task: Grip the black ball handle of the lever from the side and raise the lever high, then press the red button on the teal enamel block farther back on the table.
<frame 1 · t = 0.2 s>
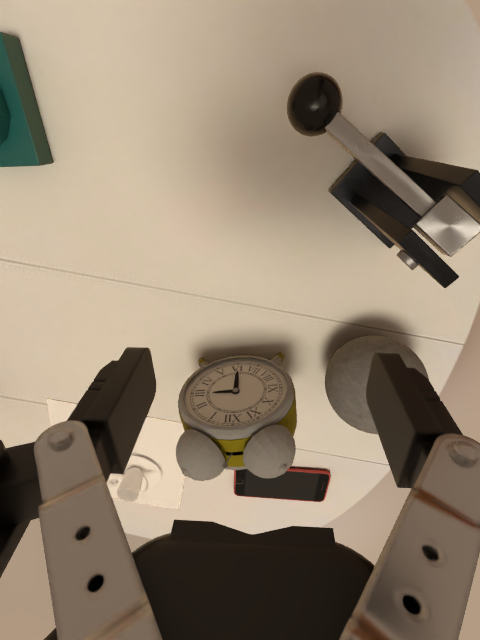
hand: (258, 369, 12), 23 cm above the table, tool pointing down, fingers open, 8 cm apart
teacup and saucer: (120, 459, 52), on the table
decorative ball: (361, 354, 40), on the table
lever: (376, 163, 21), point 10 cm above the table, hinge at -22.0°
alarm clock: (242, 368, 42), on the table
smartphone: (280, 480, 52), on the table
bracket: (383, 192, 31), on the table
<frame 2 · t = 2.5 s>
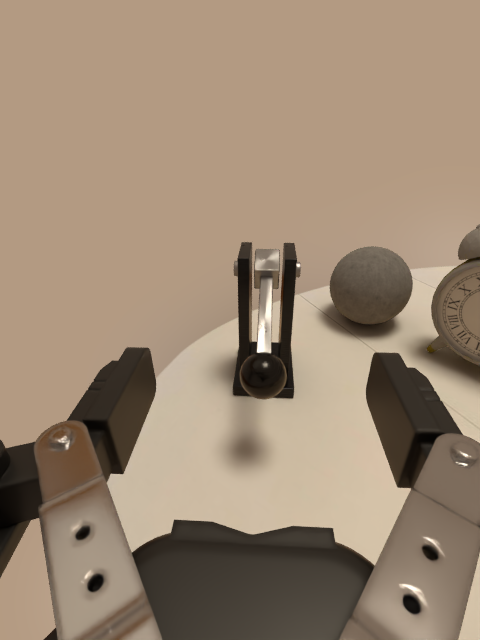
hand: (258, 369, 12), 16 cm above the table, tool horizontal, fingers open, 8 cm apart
decorative ball: (362, 320, 47), on the table
lever: (265, 317, 28), point 10 cm above the table, hinge at -22.0°
alarm clock: (478, 365, 38), on the table
bracket: (264, 371, 38), on the table
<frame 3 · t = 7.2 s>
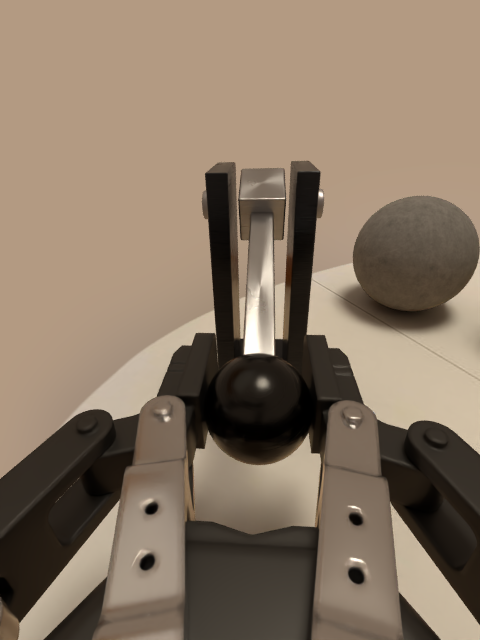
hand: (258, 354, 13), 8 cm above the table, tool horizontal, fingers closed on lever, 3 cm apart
decorative ball: (399, 306, 33), on the table
lever: (260, 284, 14), point 10 cm above the table, hinge at -22.0°, touching gripper
bracket: (260, 385, 24), on the table
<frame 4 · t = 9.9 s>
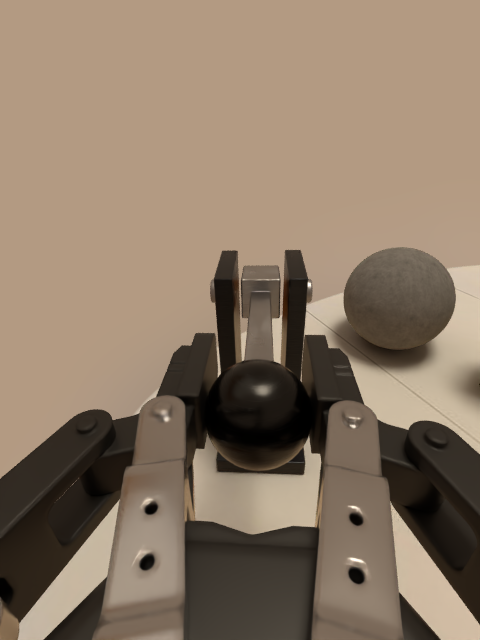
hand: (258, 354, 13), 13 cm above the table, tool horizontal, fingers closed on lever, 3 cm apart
decorative ball: (386, 342, 37), on the table
lever: (259, 334, 16), point 13 cm above the table, hinge at 6.1°, touching gripper
bracket: (260, 427, 27), on the table
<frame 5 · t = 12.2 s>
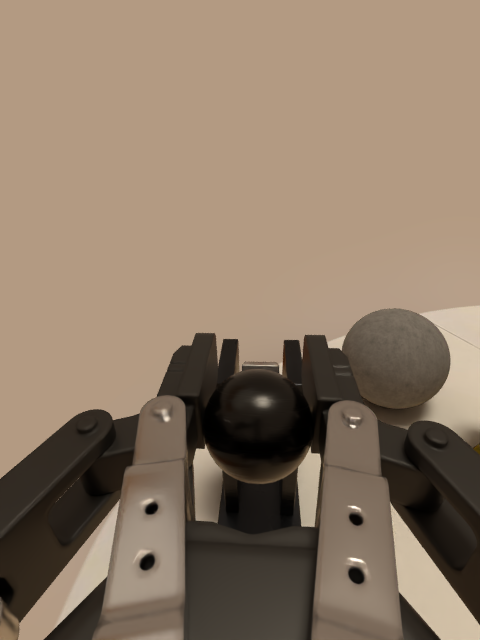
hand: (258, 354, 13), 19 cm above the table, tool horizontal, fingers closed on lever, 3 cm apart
decorative ball: (383, 396, 37), on the table
lever: (259, 396, 16), point 15 cm above the table, hinge at 34.4°, touching gripper
bracket: (259, 495, 28), on the table
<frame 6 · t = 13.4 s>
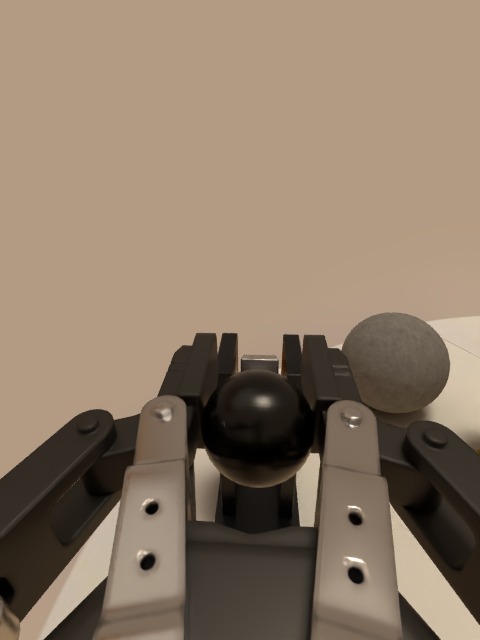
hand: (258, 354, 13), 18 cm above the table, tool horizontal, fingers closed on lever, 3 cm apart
decorative ball: (382, 401, 37), on the table
lever: (258, 393, 16), point 15 cm above the table, hinge at 29.3°, touching gripper
bracket: (257, 499, 27), on the table
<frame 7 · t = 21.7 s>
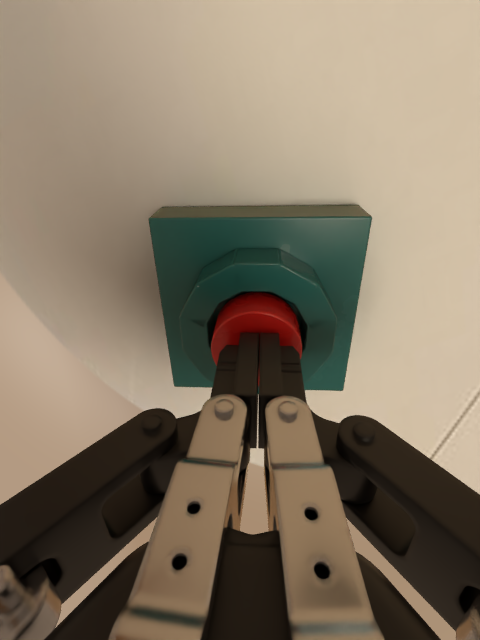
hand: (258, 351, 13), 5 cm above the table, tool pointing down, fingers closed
button block: (258, 294, 18), on the table
button: (256, 339, 14), point 4 cm above the table, slide at -0.1 cm, touching gripper
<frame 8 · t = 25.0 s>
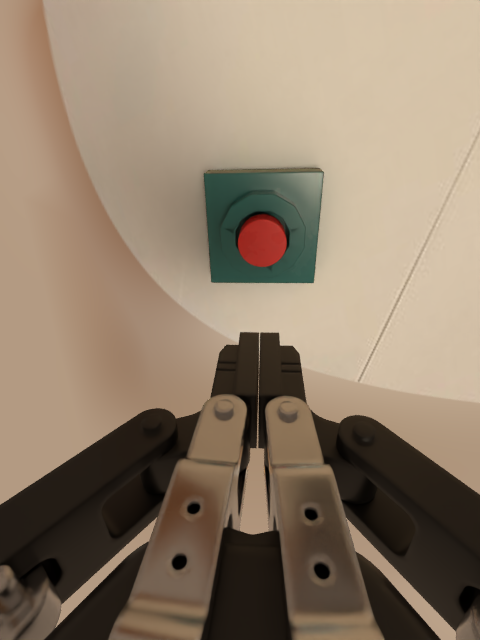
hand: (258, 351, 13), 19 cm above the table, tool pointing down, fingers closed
button block: (262, 225, 30), on the table
button: (262, 240, 26), point 4 cm above the table, slide at 0.1 cm
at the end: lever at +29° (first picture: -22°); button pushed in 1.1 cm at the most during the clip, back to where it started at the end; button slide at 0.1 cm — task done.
